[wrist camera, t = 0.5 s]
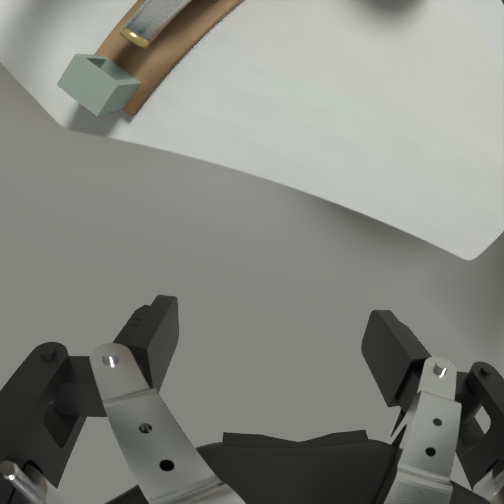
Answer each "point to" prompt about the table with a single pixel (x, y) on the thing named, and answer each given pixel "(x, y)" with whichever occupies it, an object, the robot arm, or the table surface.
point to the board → (162, 45)
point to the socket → (98, 83)
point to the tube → (151, 20)
